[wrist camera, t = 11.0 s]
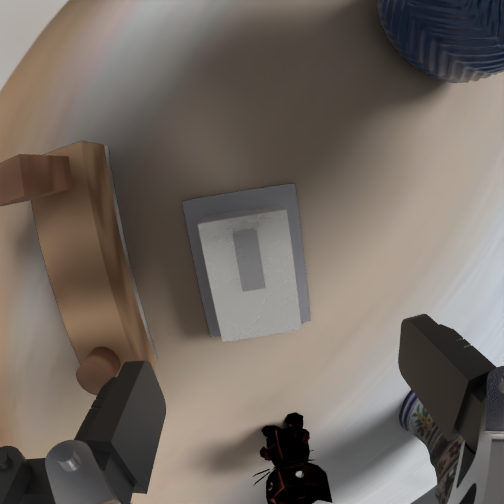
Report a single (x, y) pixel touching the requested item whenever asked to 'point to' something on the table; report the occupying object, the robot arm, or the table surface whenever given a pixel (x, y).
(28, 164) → the plane body
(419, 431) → the vase
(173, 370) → the table surface
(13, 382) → the table surface
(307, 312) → the felt mat
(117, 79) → the table surface
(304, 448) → the cat figurine
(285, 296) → the lever cap
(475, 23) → the lamp
